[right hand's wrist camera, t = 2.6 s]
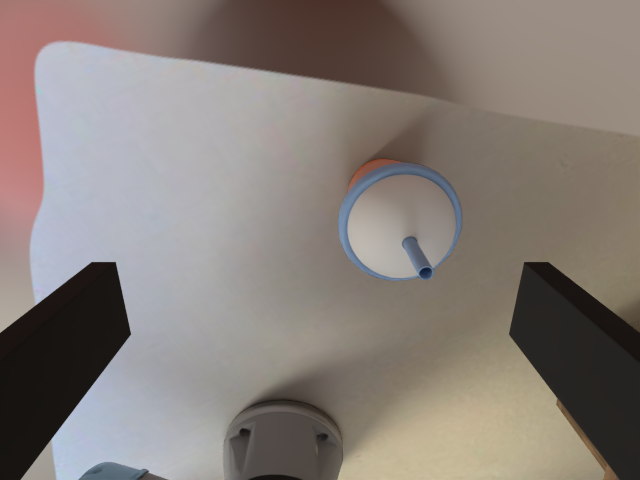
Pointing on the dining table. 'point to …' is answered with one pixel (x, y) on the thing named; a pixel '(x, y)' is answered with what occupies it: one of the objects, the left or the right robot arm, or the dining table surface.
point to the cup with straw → (399, 220)
